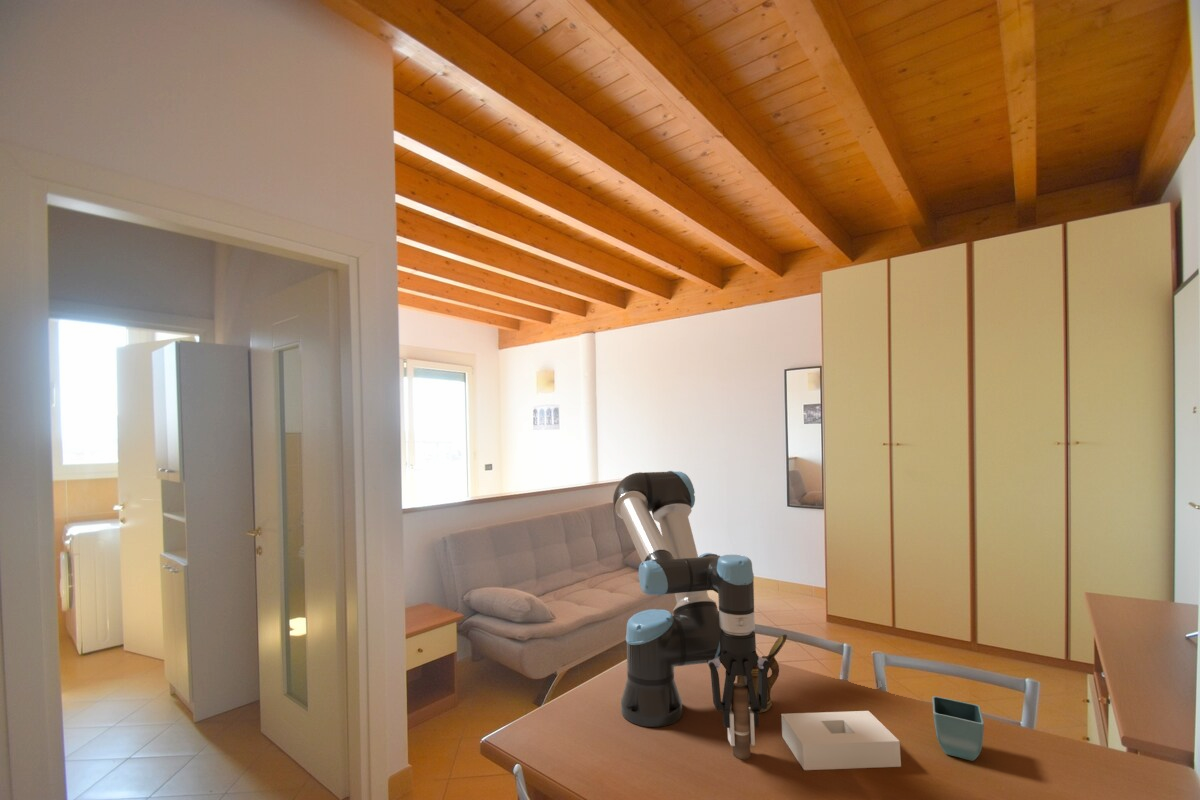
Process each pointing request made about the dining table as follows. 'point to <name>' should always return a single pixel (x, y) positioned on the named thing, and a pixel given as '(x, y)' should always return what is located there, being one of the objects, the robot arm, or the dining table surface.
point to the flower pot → (958, 727)
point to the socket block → (840, 740)
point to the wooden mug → (774, 668)
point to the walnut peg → (741, 721)
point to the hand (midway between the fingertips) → (741, 741)
